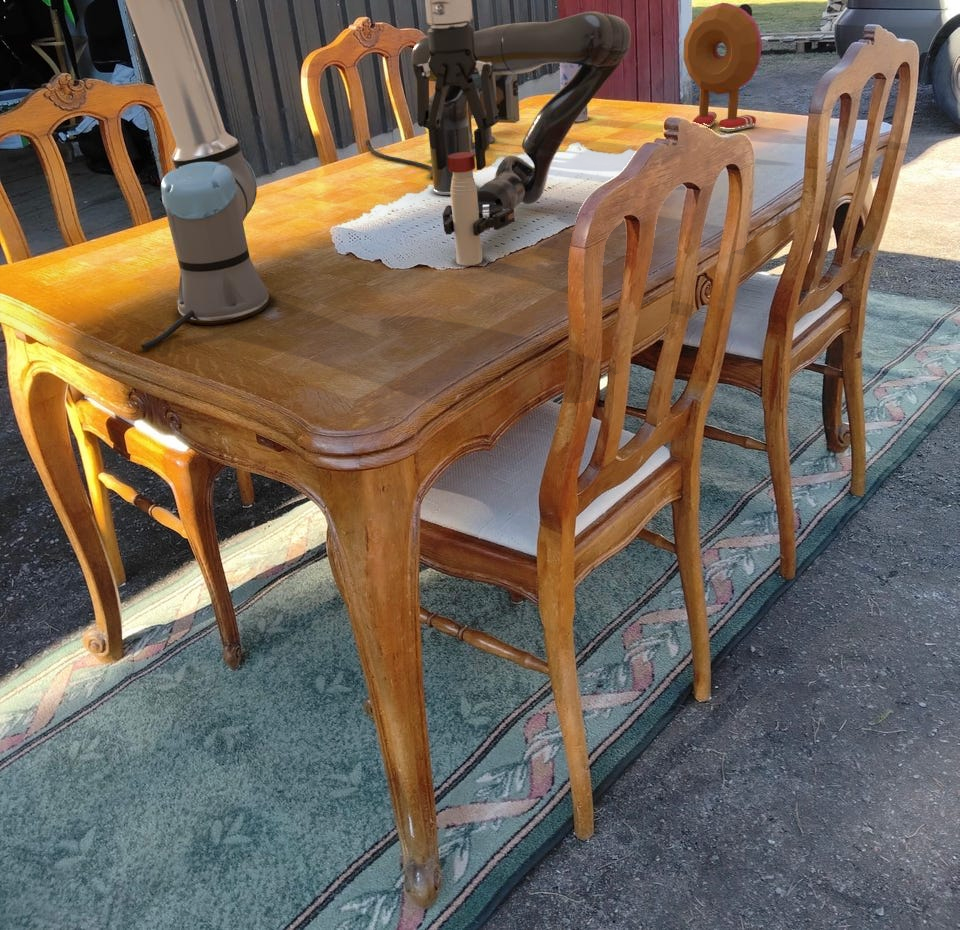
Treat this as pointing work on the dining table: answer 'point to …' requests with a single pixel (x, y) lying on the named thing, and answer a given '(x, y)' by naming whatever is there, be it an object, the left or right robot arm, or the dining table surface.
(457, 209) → the bottle
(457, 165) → the cap
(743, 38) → the toy
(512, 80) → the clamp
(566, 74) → the aerosol can
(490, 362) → the dining table surface
